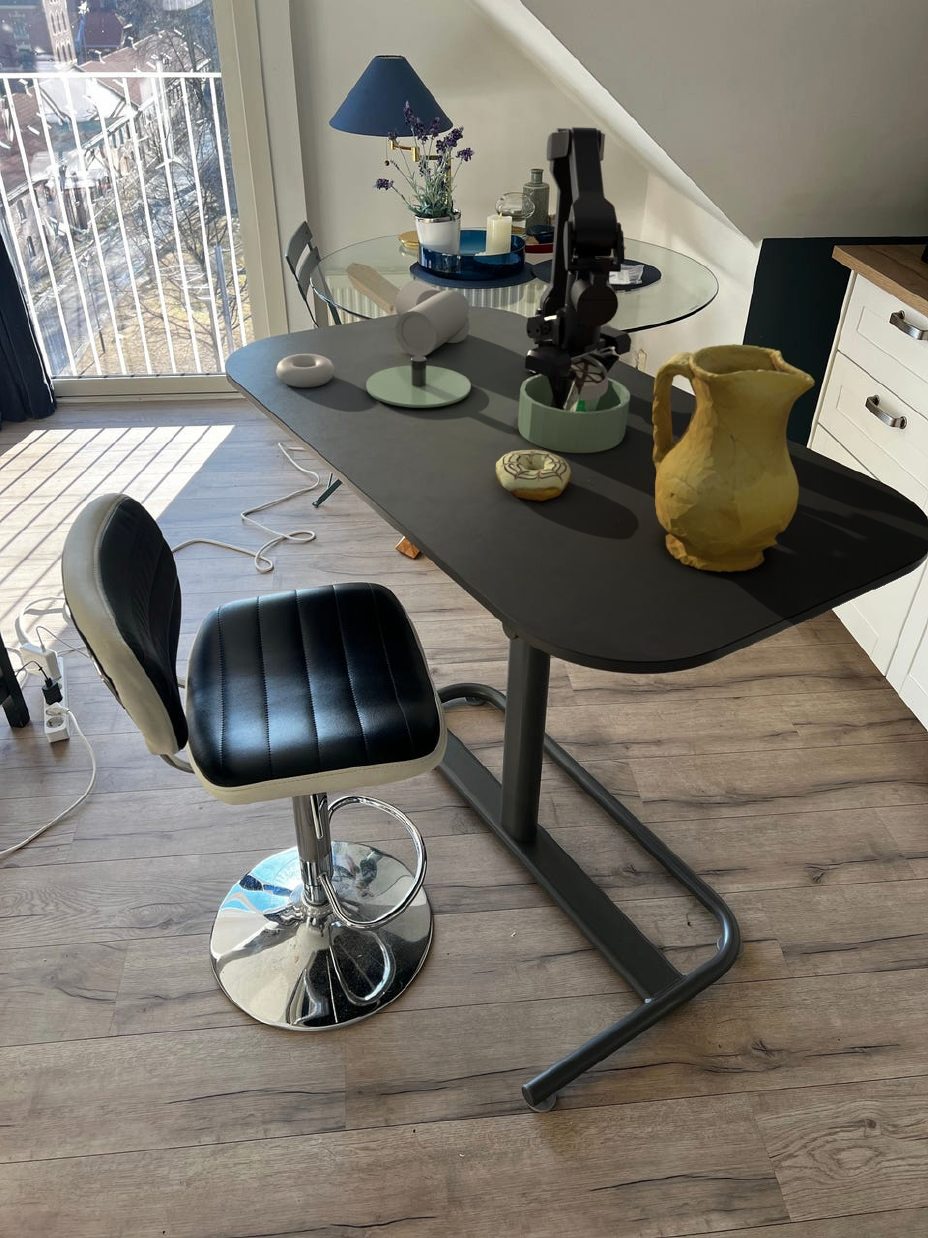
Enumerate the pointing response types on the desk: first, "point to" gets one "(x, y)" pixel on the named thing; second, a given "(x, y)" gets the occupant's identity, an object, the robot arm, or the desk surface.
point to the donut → (305, 370)
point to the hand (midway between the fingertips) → (573, 403)
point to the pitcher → (726, 455)
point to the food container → (585, 385)
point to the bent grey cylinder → (429, 317)
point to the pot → (572, 419)
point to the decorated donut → (533, 474)
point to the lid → (418, 385)
